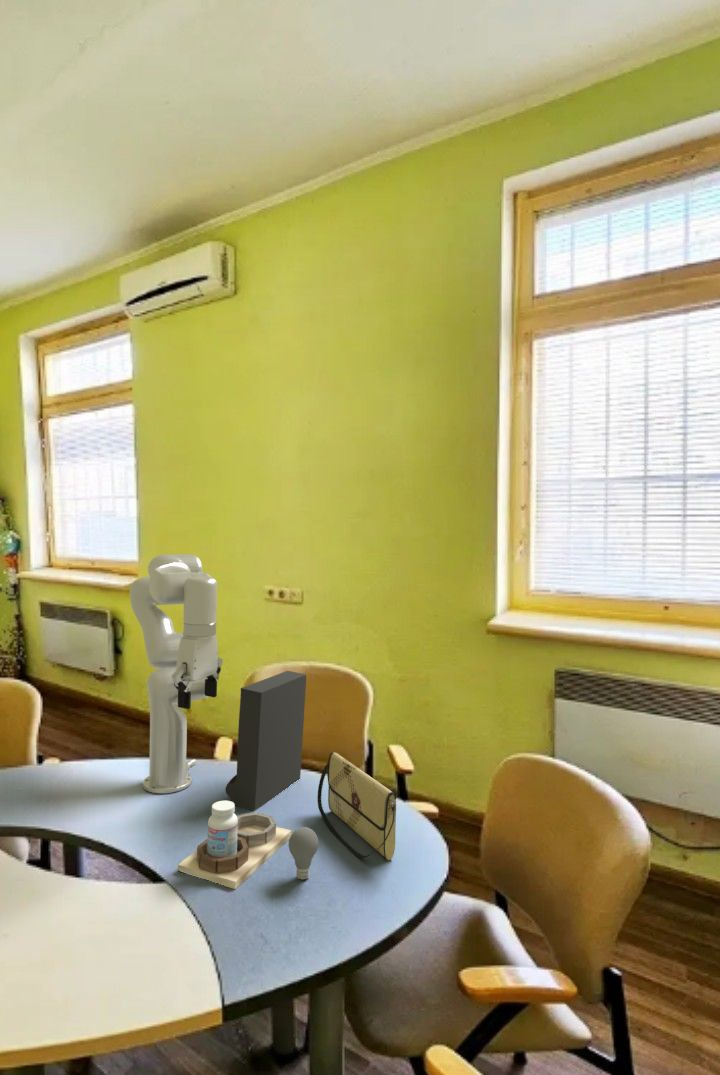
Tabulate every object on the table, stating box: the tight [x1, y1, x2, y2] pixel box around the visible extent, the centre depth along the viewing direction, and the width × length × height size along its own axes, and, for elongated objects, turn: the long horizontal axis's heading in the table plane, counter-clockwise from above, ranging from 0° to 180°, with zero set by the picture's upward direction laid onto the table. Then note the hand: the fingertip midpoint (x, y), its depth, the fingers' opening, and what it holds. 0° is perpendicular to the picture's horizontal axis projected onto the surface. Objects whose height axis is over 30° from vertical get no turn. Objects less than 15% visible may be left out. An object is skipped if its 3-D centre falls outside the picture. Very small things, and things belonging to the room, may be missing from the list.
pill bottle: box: [207, 800, 238, 859], centre depth 126 cm, size 6×6×11 cm
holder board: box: [177, 812, 292, 890], centre depth 131 cm, size 22×14×4 cm, turn 157°
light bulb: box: [288, 826, 319, 880], centre depth 123 cm, size 6×6×10 cm
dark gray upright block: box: [224, 670, 307, 812], centre depth 162 cm, size 21×11×30 cm, turn 154°
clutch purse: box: [316, 751, 397, 862], centre depth 139 cm, size 30×7×15 cm, turn 31°
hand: (197, 701), depth 143 cm, fingers open, 9 cm apart
